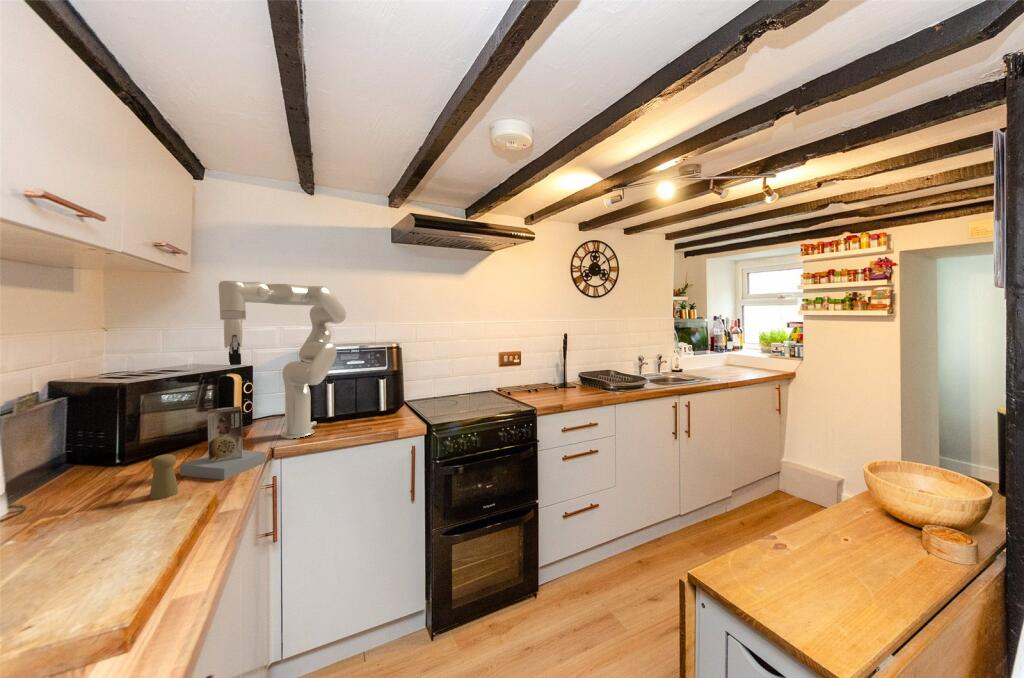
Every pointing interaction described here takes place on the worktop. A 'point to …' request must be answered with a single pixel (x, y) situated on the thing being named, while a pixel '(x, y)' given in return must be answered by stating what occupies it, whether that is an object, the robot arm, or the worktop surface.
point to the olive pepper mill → (163, 477)
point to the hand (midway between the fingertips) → (235, 363)
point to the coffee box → (224, 434)
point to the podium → (222, 466)
